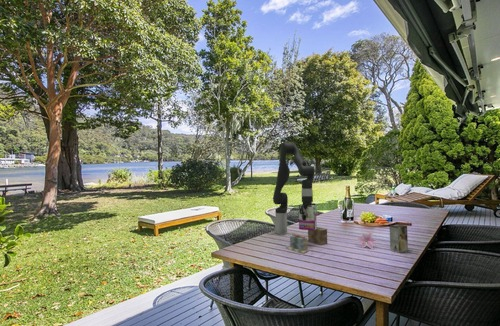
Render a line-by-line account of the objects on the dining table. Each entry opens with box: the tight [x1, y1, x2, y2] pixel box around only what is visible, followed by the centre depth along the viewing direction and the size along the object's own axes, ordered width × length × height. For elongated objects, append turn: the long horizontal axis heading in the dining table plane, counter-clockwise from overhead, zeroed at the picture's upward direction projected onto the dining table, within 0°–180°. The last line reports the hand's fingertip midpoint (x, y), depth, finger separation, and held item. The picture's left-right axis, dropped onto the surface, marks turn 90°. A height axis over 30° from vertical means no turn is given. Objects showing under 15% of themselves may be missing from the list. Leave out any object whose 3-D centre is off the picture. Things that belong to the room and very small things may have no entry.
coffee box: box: [389, 223, 409, 254], centre depth 181 cm, size 9×6×16 cm
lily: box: [355, 231, 378, 250], centre depth 190 cm, size 12×12×10 cm
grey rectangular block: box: [285, 233, 310, 255], centre depth 193 cm, size 15×27×10 cm, turn 128°
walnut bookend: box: [307, 226, 328, 246], centre depth 199 cm, size 12×6×10 cm, turn 38°
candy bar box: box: [298, 204, 318, 231], centre depth 193 cm, size 11×5×16 cm, turn 62°
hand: (307, 219), depth 193 cm, fingers closed on candy bar box, 6 cm apart
